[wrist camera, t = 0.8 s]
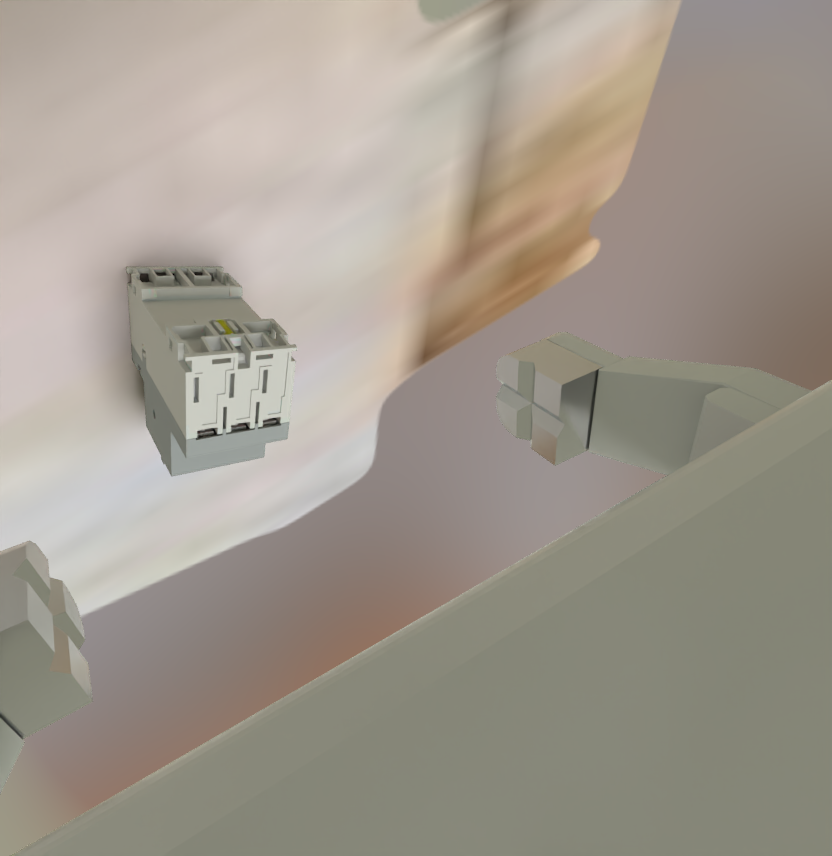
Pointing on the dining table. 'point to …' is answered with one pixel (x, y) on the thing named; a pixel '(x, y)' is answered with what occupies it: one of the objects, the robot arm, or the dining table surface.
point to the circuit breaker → (207, 368)
